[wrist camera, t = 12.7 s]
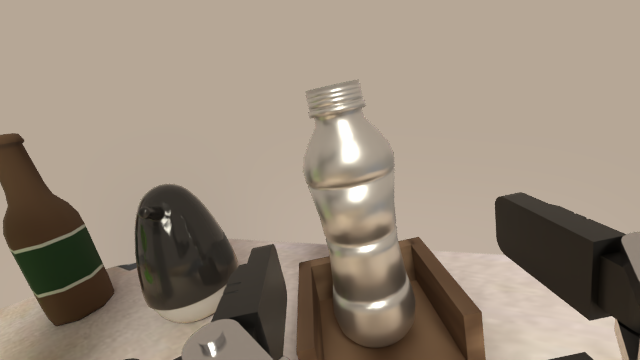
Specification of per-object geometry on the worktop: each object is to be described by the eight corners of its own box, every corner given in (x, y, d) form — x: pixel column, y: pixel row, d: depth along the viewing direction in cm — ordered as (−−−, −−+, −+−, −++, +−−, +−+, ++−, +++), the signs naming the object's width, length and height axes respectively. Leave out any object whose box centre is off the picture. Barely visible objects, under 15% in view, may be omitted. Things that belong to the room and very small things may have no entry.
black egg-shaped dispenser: (141, 352, 30) (77, 214, 26) (175, 291, 40) (132, 184, 36) (241, 325, 31) (194, 187, 27) (250, 271, 41) (217, 165, 37)
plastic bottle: (330, 317, 28) (276, 98, 23) (395, 292, 29) (359, 80, 24) (356, 374, 22) (290, 92, 17) (437, 339, 23) (400, 69, 18)
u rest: (312, 408, 21) (296, 351, 20) (309, 303, 32) (299, 262, 31) (486, 371, 21) (481, 311, 20) (424, 279, 32) (418, 236, 31)
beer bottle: (114, 305, 40) (31, 127, 34) (40, 337, 36) (-67, 145, 30) (117, 281, 47) (48, 128, 40) (55, 307, 43) (-31, 143, 37)
